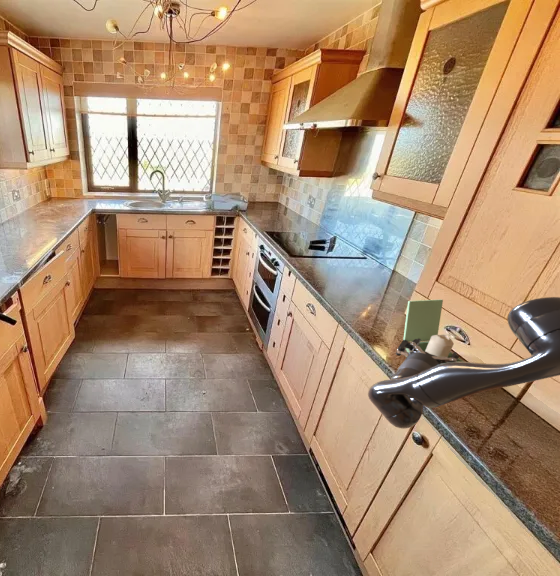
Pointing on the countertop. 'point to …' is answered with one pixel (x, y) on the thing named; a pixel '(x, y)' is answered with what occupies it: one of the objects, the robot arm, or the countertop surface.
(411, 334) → the caddy lid
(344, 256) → the countertop surface
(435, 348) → the candle
